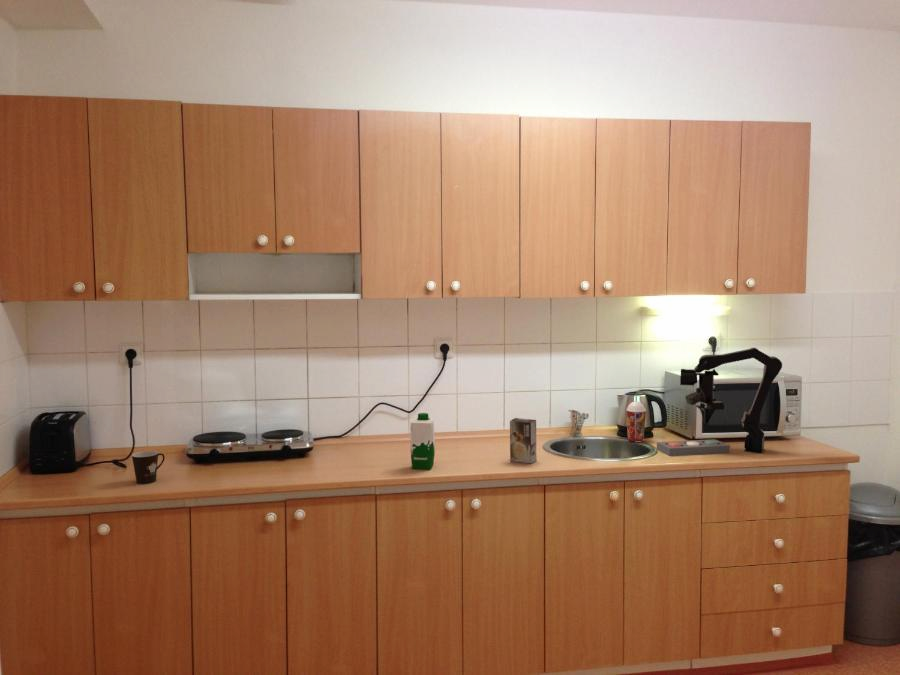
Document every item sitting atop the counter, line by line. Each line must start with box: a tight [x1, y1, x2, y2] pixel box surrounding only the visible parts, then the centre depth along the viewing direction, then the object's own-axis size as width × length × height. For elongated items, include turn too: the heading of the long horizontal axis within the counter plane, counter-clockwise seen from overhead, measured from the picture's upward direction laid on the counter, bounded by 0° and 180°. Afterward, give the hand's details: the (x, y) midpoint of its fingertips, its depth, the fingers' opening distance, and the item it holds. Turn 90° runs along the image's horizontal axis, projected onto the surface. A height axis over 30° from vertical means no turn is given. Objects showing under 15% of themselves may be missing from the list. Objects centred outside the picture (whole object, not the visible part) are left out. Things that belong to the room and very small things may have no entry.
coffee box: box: [509, 417, 538, 464], centre depth 274 cm, size 9×6×16 cm
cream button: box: [686, 440, 699, 446], centre depth 287 cm, size 5×5×2 cm
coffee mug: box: [131, 450, 166, 485], centre depth 251 cm, size 12×9×10 cm
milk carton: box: [409, 412, 436, 471], centre depth 266 cm, size 9×9×20 cm
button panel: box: [656, 438, 731, 457], centre depth 288 cm, size 11×26×3 cm, turn 99°
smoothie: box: [625, 394, 647, 442], centre depth 305 cm, size 8×8×20 cm
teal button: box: [705, 441, 718, 445], centre depth 289 cm, size 5×5×2 cm
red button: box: [668, 441, 681, 447], centre depth 286 cm, size 5×5×2 cm
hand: (706, 423), depth 292 cm, fingers closed
